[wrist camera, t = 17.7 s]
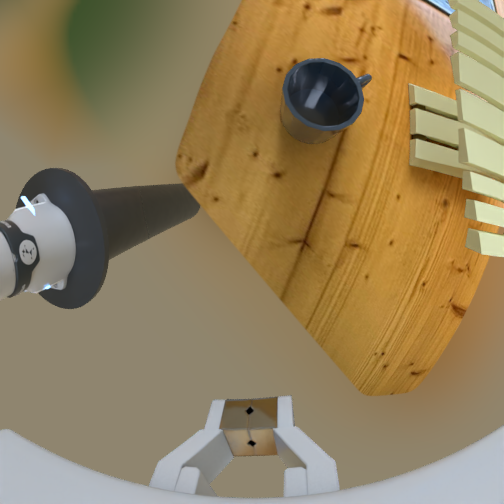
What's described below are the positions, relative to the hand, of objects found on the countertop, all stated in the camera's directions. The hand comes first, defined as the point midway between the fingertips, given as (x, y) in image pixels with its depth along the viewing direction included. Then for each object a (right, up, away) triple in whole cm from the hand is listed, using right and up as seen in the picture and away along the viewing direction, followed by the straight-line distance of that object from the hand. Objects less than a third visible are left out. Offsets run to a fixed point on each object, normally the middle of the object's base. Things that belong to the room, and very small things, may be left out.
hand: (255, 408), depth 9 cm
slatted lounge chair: (+31, +24, +22) cm, 45 cm away
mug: (+9, +25, +23) cm, 35 cm away
